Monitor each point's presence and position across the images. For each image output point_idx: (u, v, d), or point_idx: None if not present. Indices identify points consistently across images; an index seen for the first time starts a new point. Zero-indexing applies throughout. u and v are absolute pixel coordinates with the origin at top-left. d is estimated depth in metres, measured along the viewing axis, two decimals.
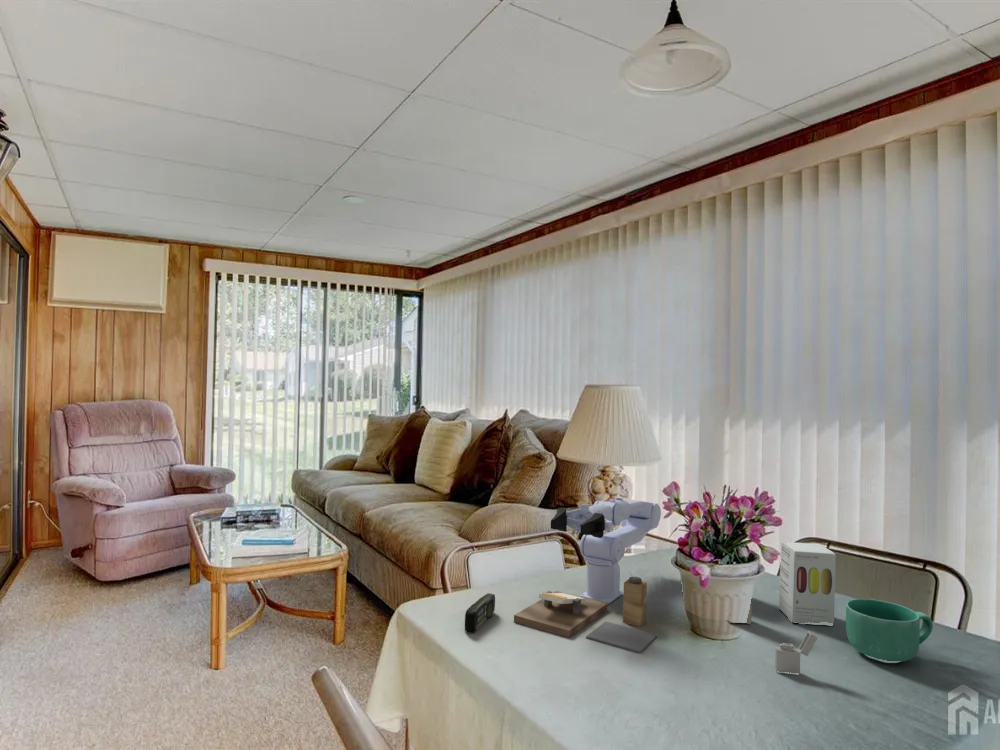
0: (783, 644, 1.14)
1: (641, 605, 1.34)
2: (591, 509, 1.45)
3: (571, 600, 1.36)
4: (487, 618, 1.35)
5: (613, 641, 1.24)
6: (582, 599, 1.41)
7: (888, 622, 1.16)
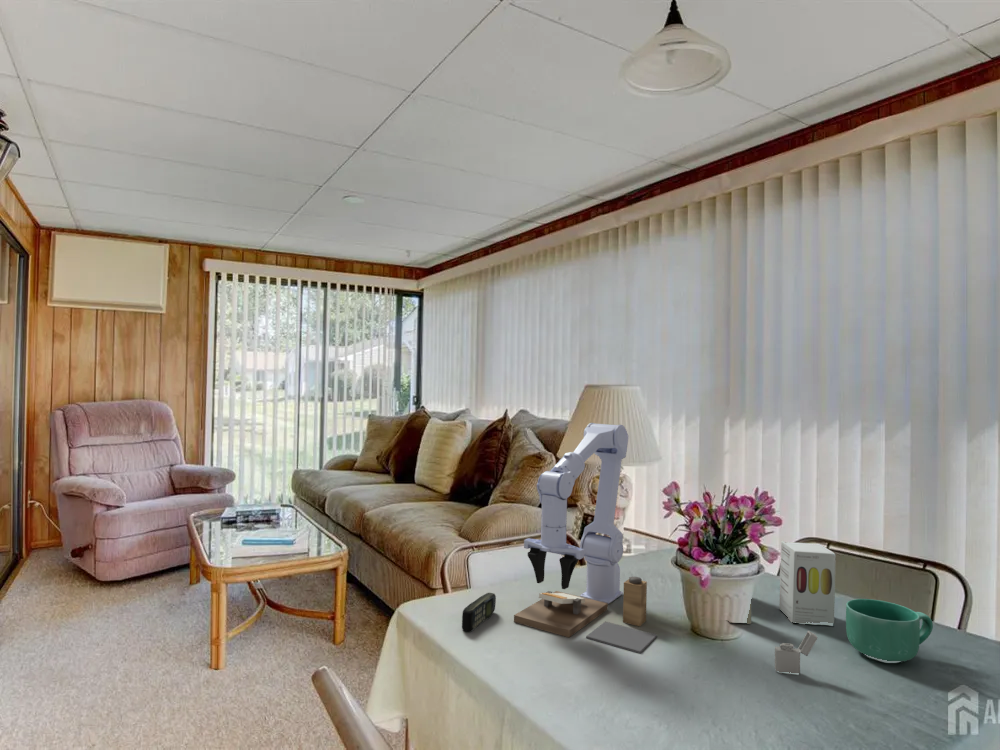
0: (783, 644, 1.14)
1: (641, 605, 1.34)
2: (551, 540, 1.32)
3: (571, 600, 1.36)
4: (486, 617, 1.35)
5: (613, 641, 1.24)
6: (582, 599, 1.41)
7: (888, 622, 1.16)
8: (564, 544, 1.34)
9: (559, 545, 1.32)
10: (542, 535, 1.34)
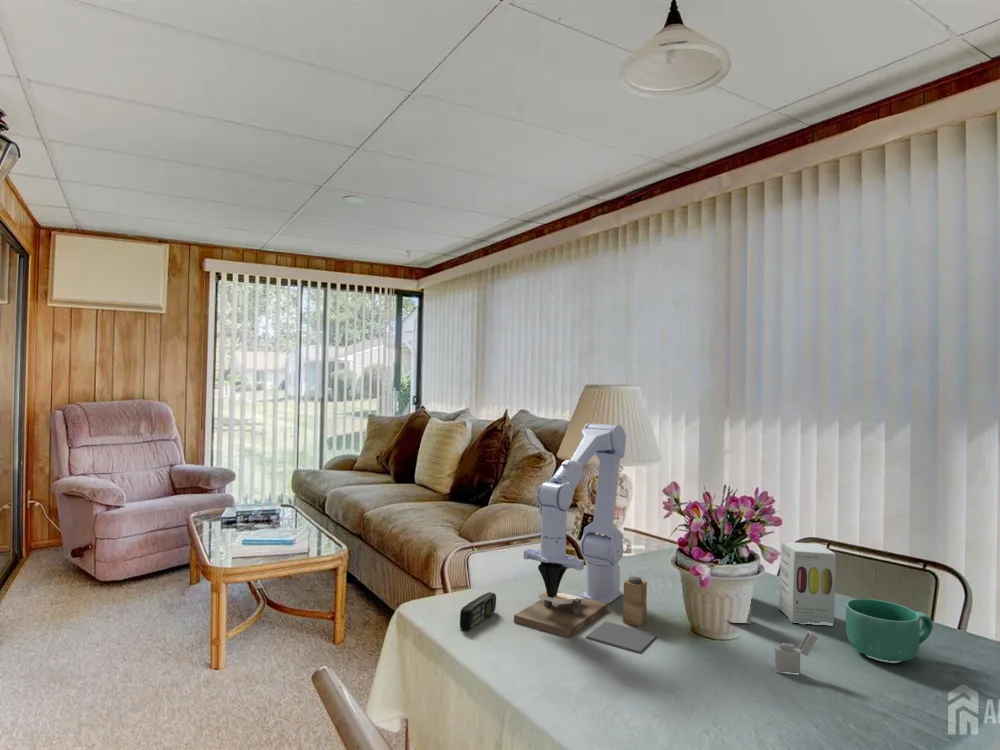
0: (783, 644, 1.14)
1: (641, 605, 1.34)
2: (551, 551, 1.32)
3: (571, 600, 1.36)
4: (485, 617, 1.35)
5: (613, 641, 1.24)
6: (582, 599, 1.41)
7: (888, 622, 1.16)
8: (564, 555, 1.33)
9: (559, 556, 1.32)
10: (542, 546, 1.34)
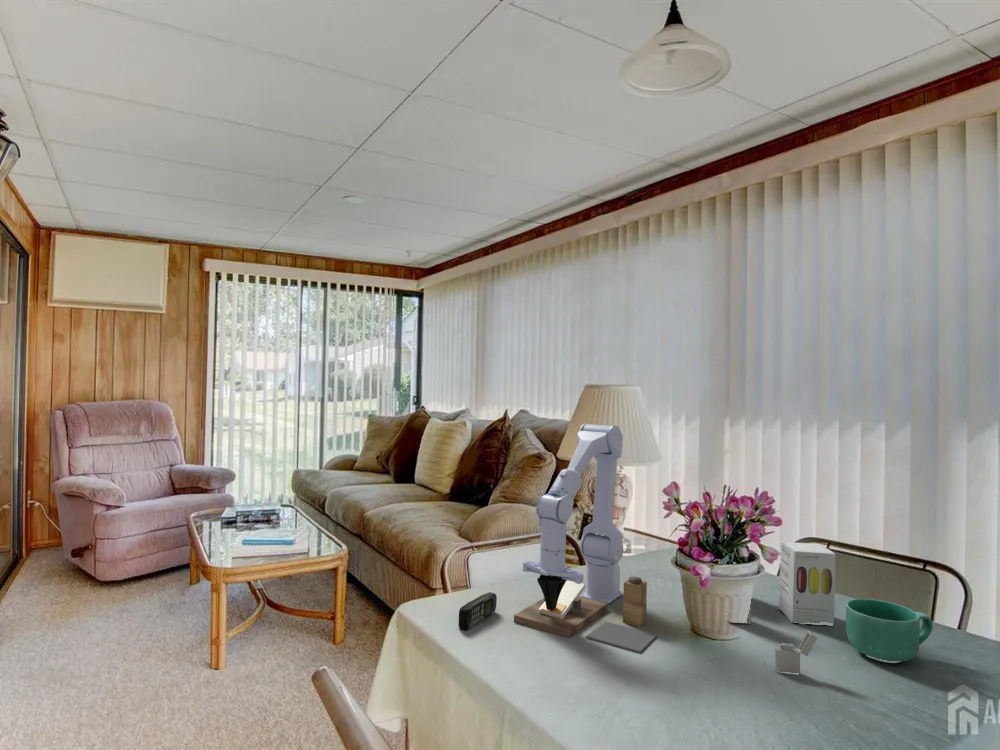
0: (783, 644, 1.14)
1: (641, 605, 1.34)
2: (550, 564, 1.32)
3: (571, 604, 1.36)
4: (485, 616, 1.36)
5: (613, 641, 1.24)
6: (582, 588, 1.41)
7: (888, 622, 1.16)
8: (563, 568, 1.33)
9: (558, 569, 1.32)
10: (541, 559, 1.34)
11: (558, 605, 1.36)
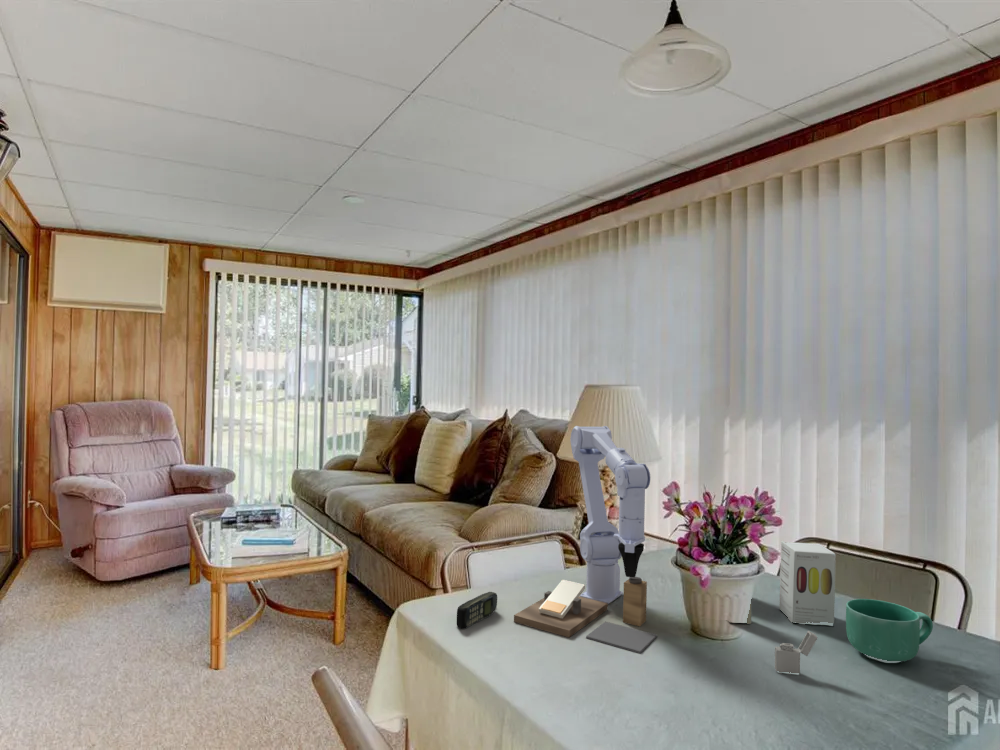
0: (783, 644, 1.14)
1: (641, 605, 1.34)
2: (619, 528, 1.36)
3: (571, 604, 1.36)
4: (484, 616, 1.36)
5: (613, 641, 1.24)
6: (582, 588, 1.41)
7: (888, 622, 1.16)
8: (630, 537, 1.34)
9: (624, 535, 1.35)
10: None
11: (558, 605, 1.36)
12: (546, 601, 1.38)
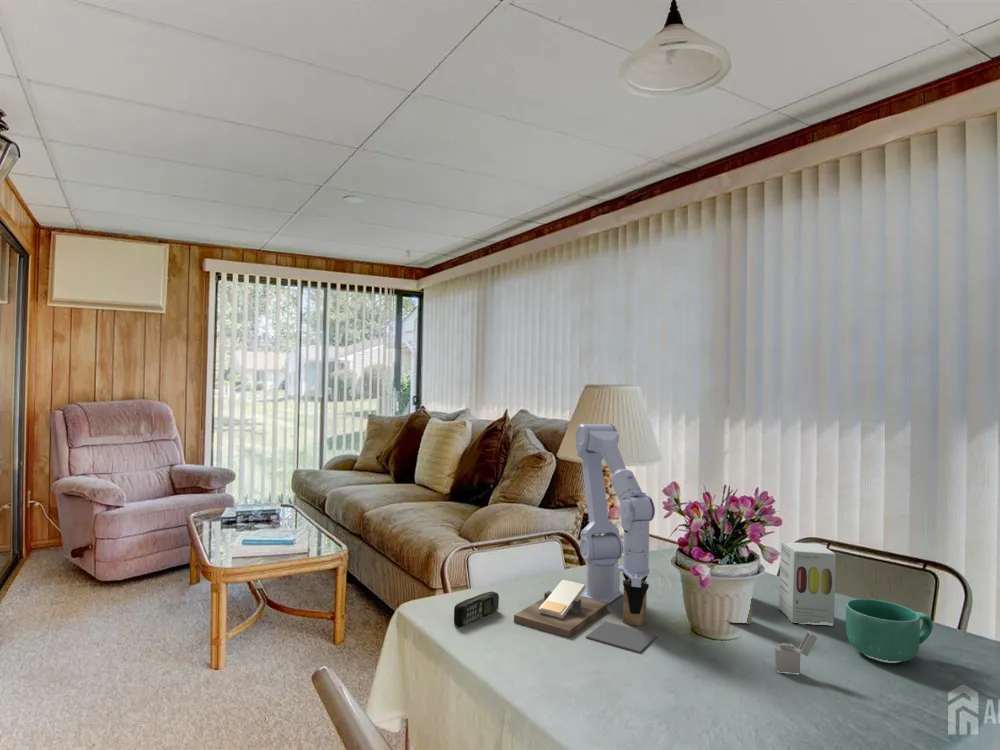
0: (783, 644, 1.14)
1: None
2: (623, 561, 1.36)
3: (571, 604, 1.36)
4: (483, 615, 1.36)
5: (613, 641, 1.24)
6: (582, 588, 1.41)
7: (888, 622, 1.16)
8: (635, 570, 1.34)
9: (629, 568, 1.35)
10: None
11: (558, 605, 1.36)
12: (546, 601, 1.38)
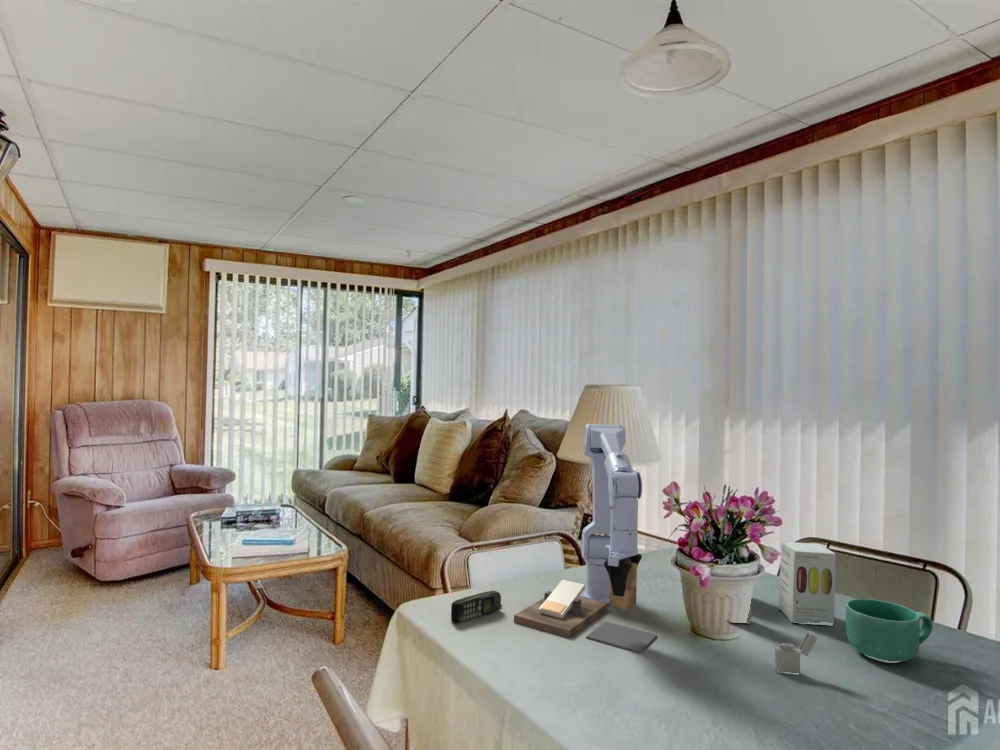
0: (783, 644, 1.14)
1: (627, 588, 1.25)
2: (610, 540, 1.28)
3: (571, 604, 1.36)
4: (483, 614, 1.37)
5: (613, 641, 1.24)
6: (582, 588, 1.41)
7: (888, 622, 1.16)
8: (619, 549, 1.25)
9: (613, 547, 1.26)
10: None
11: (558, 605, 1.36)
12: (546, 601, 1.38)
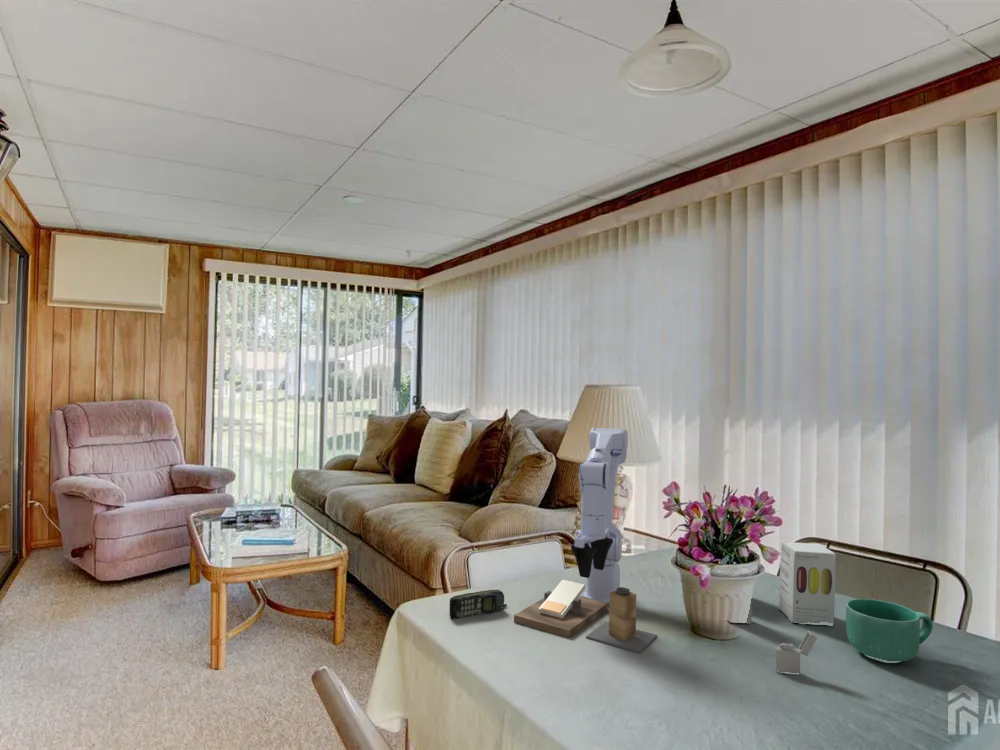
0: (783, 644, 1.14)
1: (627, 618, 1.25)
2: None
3: (571, 604, 1.36)
4: (483, 611, 1.39)
5: (613, 641, 1.24)
6: (582, 588, 1.41)
7: (888, 622, 1.16)
8: (587, 533, 1.36)
9: (582, 531, 1.37)
10: None
11: (558, 605, 1.36)
12: (546, 601, 1.38)
